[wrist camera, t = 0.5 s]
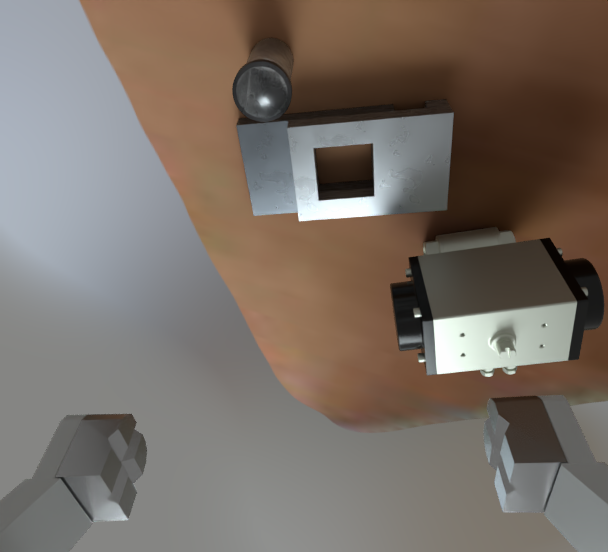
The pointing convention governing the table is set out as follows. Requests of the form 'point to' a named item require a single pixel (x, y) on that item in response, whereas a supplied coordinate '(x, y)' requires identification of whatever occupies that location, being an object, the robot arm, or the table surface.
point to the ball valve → (494, 303)
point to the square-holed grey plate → (340, 132)
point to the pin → (265, 81)
